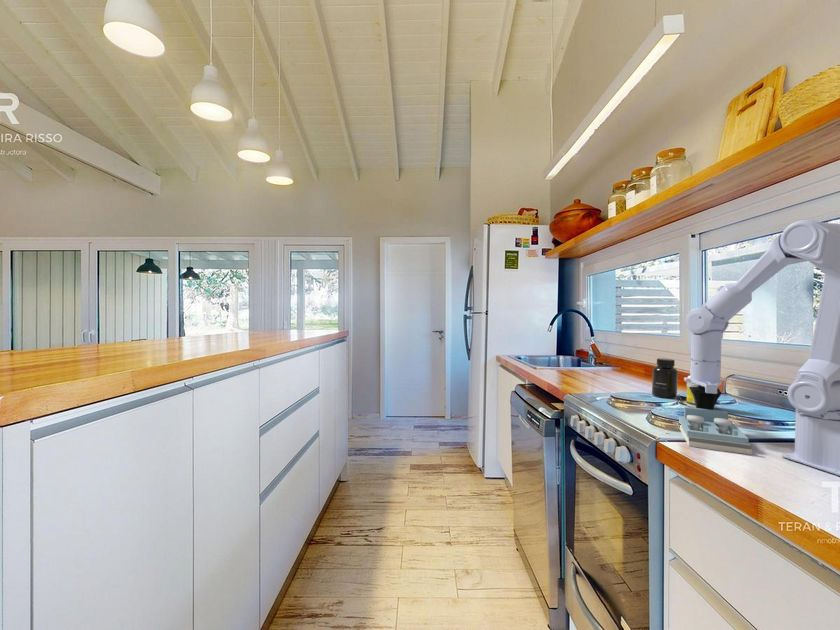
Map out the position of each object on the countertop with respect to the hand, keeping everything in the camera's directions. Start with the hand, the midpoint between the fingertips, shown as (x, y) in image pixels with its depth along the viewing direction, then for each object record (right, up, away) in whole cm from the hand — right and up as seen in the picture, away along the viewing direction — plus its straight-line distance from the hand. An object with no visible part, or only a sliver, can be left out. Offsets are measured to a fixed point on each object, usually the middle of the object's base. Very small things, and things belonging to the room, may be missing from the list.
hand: (704, 418), depth 91 cm
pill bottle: (+14, -2, +20) cm, 25 cm away
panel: (-3, -1, -7) cm, 7 cm away
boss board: (-3, -2, -5) cm, 6 cm away
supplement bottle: (+12, -2, +34) cm, 36 cm away
